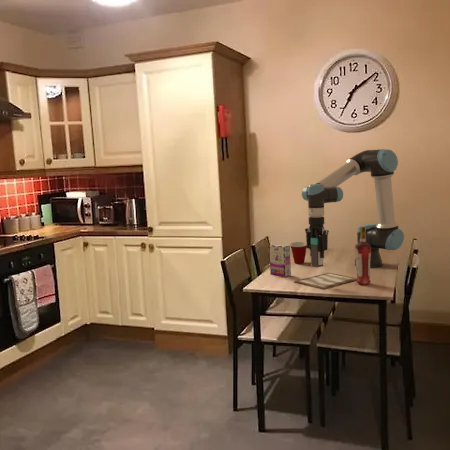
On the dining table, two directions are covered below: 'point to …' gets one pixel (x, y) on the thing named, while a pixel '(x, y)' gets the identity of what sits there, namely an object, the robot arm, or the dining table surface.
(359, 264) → the liquor
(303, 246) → the plastic cup
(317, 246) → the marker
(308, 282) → the striped kitchen towel
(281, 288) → the dining table surface
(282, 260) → the candy bar box
